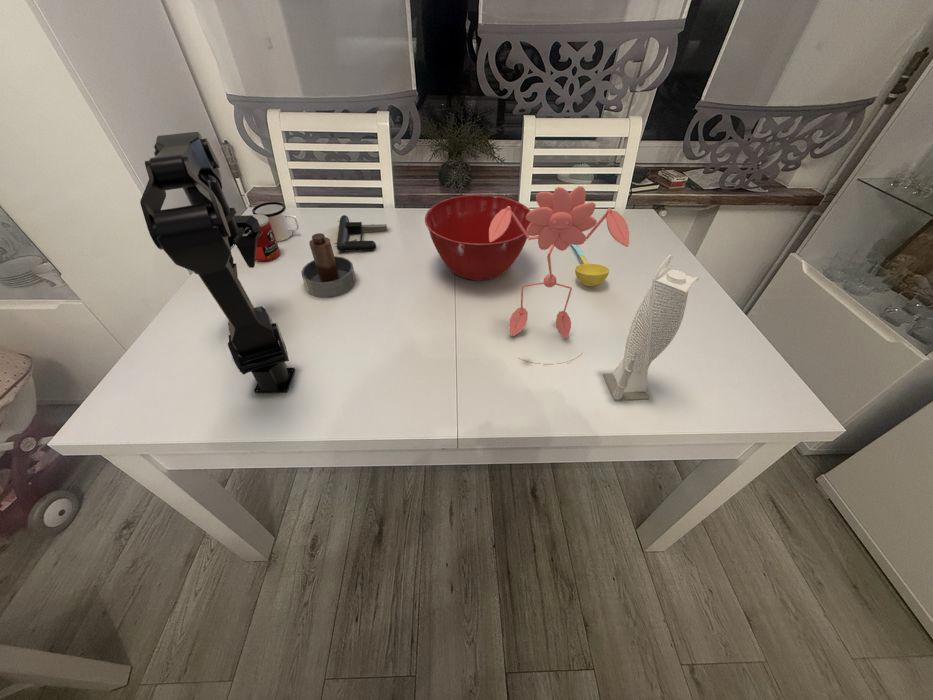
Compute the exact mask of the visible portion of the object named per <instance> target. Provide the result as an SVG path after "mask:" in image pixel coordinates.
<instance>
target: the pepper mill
mask: <svg viewBox="0 0 933 700" xmlns="http://www.w3.org/2000/svg"><path fill="white" fill-rule="evenodd" d="M308 244H309V247H310V251H311V254H312V258H313V260H314V261H315V265H316V268H317V271H318V275H319V278H320V281H321V282H330V281H335V280H337V279H340V277H339V273H338V269H337V265H336V261H335V258H334V256H335V254H334V250H333V247H332V241H331V239H330V238H329V237H326V236H325V233H322V232H321V233H317V232H316V233H315V234H313V235H312V236H311V239H310V240H309V243H308Z"/></svg>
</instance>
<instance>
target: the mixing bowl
mask: <svg viewBox="0 0 933 700" xmlns="http://www.w3.org/2000/svg"><path fill="white" fill-rule="evenodd" d="M507 206H510V207H511V210H512V212H513V213H514V215H515V216H516V218H517V219H518V221H519V222H520V224H521V225H522V227H523V228H524V230H525V231H526V230H527V227H528V225H529V224H530V223H531V222H529V221H528V220H526V215H527V214H528V213H529V212H530V211H531V209H530V208H529V207H528V206H526V205H525V204H523V203H521V202H520V201H517V200H514V199H511V198H508V197H504V196H499V195H493V194H468V195H465V194H464V195H460V196H459V195H458V196H454V197H450V198H447V199H444V200H442V201H439V202H437V203H435V204H434V205H433V206H431V207H430V208H429V209H428V210H427V212H426V213H425V215H424V223H425V226H426V228H427V230H428V233H429V236H430V238H431V241H432V243H433V245H434V247H435V249H436V251H437V253H438V255H439V257H440V259H441V260H442V262H443V263H444V264H445V266H446V267H447V268H448V269H449V270H450V271H451V272H453V274H455V275H457V276H459V277H462V278H463V279H467V280H470V281H488V280H490V279H491V280H492V279H494V278H497V277H499V276H501V275H502V274H504V273H505V272H507V271H508V270H509V269H510V268H511V267H512V266H513V264H514V263H515V262H516V260H517V258H518V257H519V256H520V254H521V252H522V251H523V249H524V246H525V244H526V242H527V240H528V238H526V236H525V235H524V233H523V232H522V230H521V229H520V227H519V226H518V224H517V223H516V221H515V220H514V218H513V217H512V216H511V223H510V225H509V227H508V229H507V230H506V231H505V233H504V234H503V235H502V236H501V237H499V238H498V239H496V240H495V241H493V242H491V243H490V241H489V228H490V224H491V222H492V220H493V218H494V217H495V215H496V214H497V213H499V212H500V211H501V210H502V209H505V208H507Z"/></svg>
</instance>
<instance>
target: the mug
mask: <svg viewBox="0 0 933 700" xmlns="http://www.w3.org/2000/svg"><path fill="white" fill-rule="evenodd" d="M286 208H287V207H286V205H285V204H284V203H283V202H279V201H268V202H267V201H266V202H263V203H260V204H257V205H255V206H254V207H253V208H252V209H251V212H252V213H251V214H252V215H254V214H260V215H265V216H267V217H268V219H269V222H270V224H271V227H272V230H273V233H274V235H275V238H276V241H277V243H278V242H282V241H286V240H287V239H289V238H291V236H292V234H293V232H292V231H298V230H299V228H300V225H299V222H298V219H297V216H296V215H294V214H287V213H286ZM289 218H293V220H294V221H295V224H296V227H291V225H290V222H289V220H288V219H289Z"/></svg>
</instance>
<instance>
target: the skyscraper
mask: <svg viewBox="0 0 933 700" xmlns="http://www.w3.org/2000/svg"><path fill="white" fill-rule="evenodd" d="M672 259H673V253H671V254H669V255H668V256H667V257H666V258H665V259H664V260H663V261H662V263H661V264H660V266H659V267H658V269H657V270H656V272H655V274H654V276H653V277H652V281H651V286H650V287H649V289H648V290H647V292H646V293H645V295H644V297H643V299H642V300H641V302H640V304H639V306H638V307H637V310H636V312H635V314H634V316H633V319H632V322H631V325H630V326H629V327H630V328H629V331H628V335H627V338H626V342H625V346H624V347H625V348H624V353H623V357H622V359H621V360H620V361H619V362H618V364H617V366H616V367H615V368H614V370H612V372H611V373H603V374H602V377H603V379H604V381H605V384H606V386H607V388H608V390H609V393H610V395H611V398H612V400H613V402H625V401H627V402H629V401H648V400H650V397H649V395H648V393H647V384H648V372H649V368H650V367H651V366H650V365H651V364H652V362H653V361H654V360H655V359H657V358H658V356H660V355H661V354H663V352H664V351H665V350H666V349H667V348H668V346H669V345H670V344H671V342H672V341H673V340H674V338H675V337H676V335H677V333H678V331H679V329H680V328H681V324H682V322H683V319H684V314H685V311H686V307H687V302H688V297H689V292H690V291H691V289H692V288H693V286H694V285H695V284H696V283H698V281H699V279H700V275H697V276H695V277H693V276H690V275H687V274H686V273H685V272H684V271H681V270H678V269H671V268H668V267H669V265H670V263H671V260H672Z"/></svg>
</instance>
